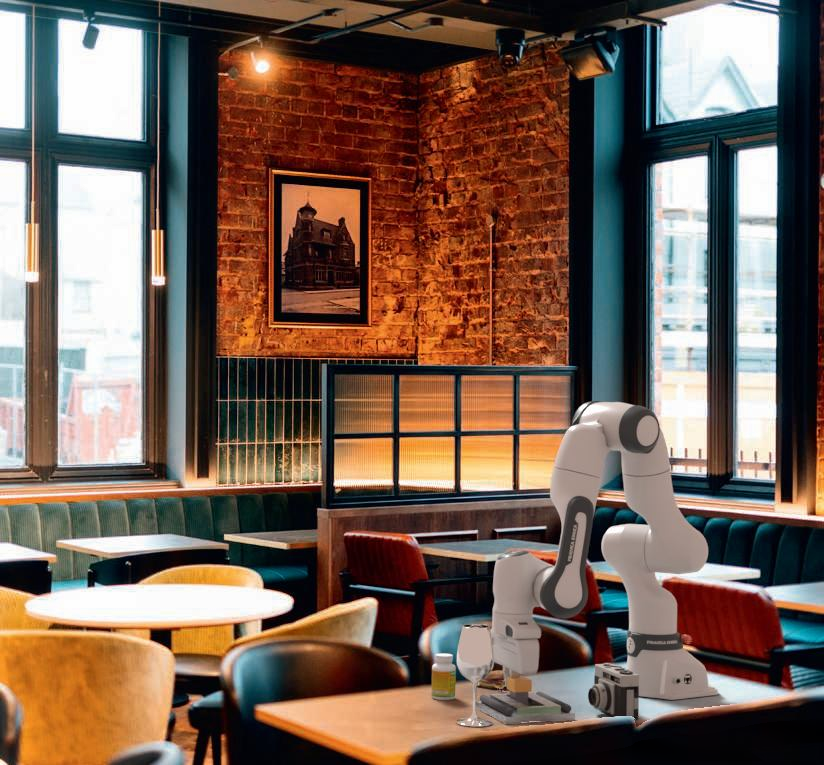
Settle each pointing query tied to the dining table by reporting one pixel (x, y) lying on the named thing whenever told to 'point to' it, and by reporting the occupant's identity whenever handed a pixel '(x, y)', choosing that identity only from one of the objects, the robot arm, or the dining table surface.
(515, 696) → the toggle
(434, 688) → the supplement bottle
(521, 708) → the panel
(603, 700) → the camera
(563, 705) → the dark grey slide rails
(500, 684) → the hamburger
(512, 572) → the robot arm
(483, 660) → the wineglass
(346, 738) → the dining table surface
